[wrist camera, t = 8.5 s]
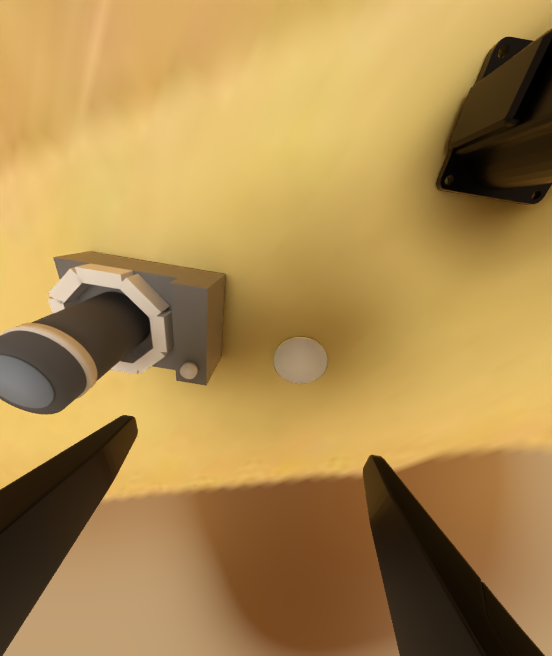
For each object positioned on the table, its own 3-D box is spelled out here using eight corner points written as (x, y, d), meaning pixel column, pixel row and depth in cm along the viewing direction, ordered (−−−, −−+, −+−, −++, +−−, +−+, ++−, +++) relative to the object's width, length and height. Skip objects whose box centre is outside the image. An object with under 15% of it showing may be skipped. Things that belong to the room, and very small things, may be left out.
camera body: (225, 273, 18) (203, 291, 13) (221, 356, 21) (203, 390, 17) (89, 251, 18) (24, 261, 13) (108, 337, 21) (62, 367, 17)
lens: (146, 295, 16) (47, 350, 9) (155, 349, 18) (79, 423, 11) (82, 286, 16) (-59, 335, 9) (98, 340, 18) (-8, 411, 12)
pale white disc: (332, 340, 20) (334, 344, 19) (318, 382, 22) (319, 387, 22) (278, 330, 20) (278, 334, 19) (270, 373, 22) (269, 378, 22)
